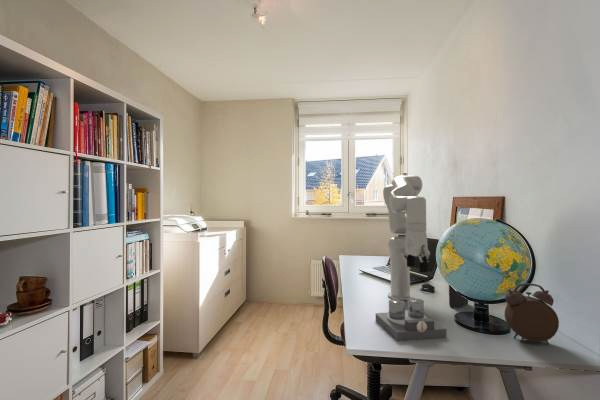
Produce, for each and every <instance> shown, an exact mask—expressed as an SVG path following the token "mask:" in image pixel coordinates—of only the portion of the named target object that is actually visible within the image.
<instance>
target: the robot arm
mask: <svg viewBox="0 0 600 400" xmlns="http://www.w3.org/2000/svg"><path fill="white" fill-rule="evenodd" d="M422 189H423V180H422V178H421V177H420V176H419V175H398V176H396V177H394V178H393V179H392V181H391V184H388V185H385V186H384V187H383V189H382V193H383V195H382V196H383V200H384V203H385V206H386V208H387V211H388V221H389V222H388V223H389V230H390V233H391V234H393V235H398V236H392V237H390V238H389V239H388V243H387V244H388V251H389V261H390V263H389V264H390V287H389V288H390V292H388V293H387V297H389V298H390V299H391V300H392V299H398V300H402V301H408V299H410V298H414V295H413V294H412V293H411V277H410V275H411V274H410V273H411V272H410V268H411V267H412V268H413V267H415V263H416V261H415V257H418V259H419V262H418V266H419V267H418V269H419V270H418V271H419V272H420V273H428V271H429V269H428V268H429V267H428V265H429V259H430V256H431V252H430V250H429V248H428V237H427V200H426V198H425V196H419V195H420V193H421V192H422ZM400 235H401V236H400ZM405 256H406V257H405Z"/></svg>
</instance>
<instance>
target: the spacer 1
mask: <svg viewBox="0 0 600 400" xmlns="http://www.w3.org/2000/svg"><path fill="white" fill-rule="evenodd" d="M405 310H406V302H405V300H398V299H392V298H391V299H389V300H388V312H389V317H390V318H391V319H395V320H403V319H405Z"/></svg>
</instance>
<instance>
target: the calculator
mask: <svg viewBox="0 0 600 400" xmlns="http://www.w3.org/2000/svg"><path fill="white" fill-rule="evenodd" d="M468 304H469V299H468V300H467V299H465V298H464V297H462V296H461V295H459V294H458V293H457V292H456V291H455V290H454V289H453V288H452V287H451V286H450V285H449V284H448V306H449V307H450V308H452V309H458V308H461V307H463V306H468Z"/></svg>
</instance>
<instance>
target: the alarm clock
mask: <svg viewBox="0 0 600 400" xmlns="http://www.w3.org/2000/svg"><path fill="white" fill-rule="evenodd" d="M524 286H532V287H533V286H534V287H538V288H539V289H540V290H537V291H535V292H534V293H533V294H532V292H530V291H528V292H527V291H526V292H525V294H526V295H524V294H523V293H522V292H520V291H518V290H519V288H520V287H524ZM530 295H531V296H530ZM504 298H505V301H506V303H507V304H506V307H505V308H504V319H505V321H506V324H507V325H508V327H509V328H510V329H511V330H512V331H513V332H514V336H513V337H512V338H513V339H517V336H519V337H521V340H520V343H523V341H524V340H527V341H529V342H533V343H543V342H545V343H546V344H547V345H550V342H549V340H551V339H552V338H553V337H554V336H555V335H556V334H557V332H558V330H559V327H560V323H559V322H560V321H559V317H558V315H557V313H556V311H555V310H554V309H553V308H552V307H553V305H554V298H553V297H552V294H550V293H549V290H548V289H547V290H545V289H544V288H543V286H542V285H539V284H536V283H526V282H525V283H519V284H517V285H516V286H515V287H514V289H513V290H511V289H508V291H507V293H506V294H505V296H504Z"/></svg>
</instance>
